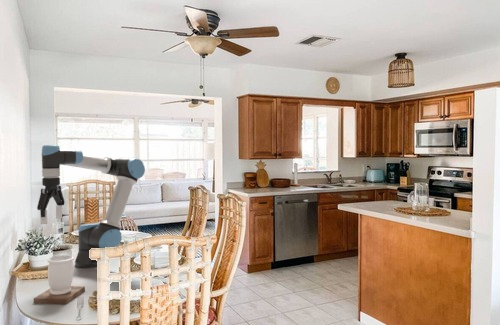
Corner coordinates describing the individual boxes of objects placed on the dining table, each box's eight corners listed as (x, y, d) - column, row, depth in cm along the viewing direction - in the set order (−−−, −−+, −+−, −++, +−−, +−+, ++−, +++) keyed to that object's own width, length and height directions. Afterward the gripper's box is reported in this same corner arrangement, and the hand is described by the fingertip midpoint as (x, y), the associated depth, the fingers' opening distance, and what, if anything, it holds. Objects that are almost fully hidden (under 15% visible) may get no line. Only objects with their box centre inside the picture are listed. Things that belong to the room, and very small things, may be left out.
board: (55, 289, 174) (55, 285, 174) (84, 290, 173) (84, 286, 173) (33, 302, 158) (33, 298, 158) (65, 304, 157) (65, 299, 157)
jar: (55, 287, 172) (56, 254, 171) (78, 288, 171) (78, 255, 171) (42, 296, 161) (42, 261, 161) (65, 296, 161) (66, 261, 160)
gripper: (56, 175, 194) (57, 216, 194) (27, 179, 169) (28, 226, 169) (71, 175, 193) (72, 216, 194) (44, 179, 169) (45, 226, 169)
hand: (51, 221), depth 182 cm, fingers open, 13 cm apart
